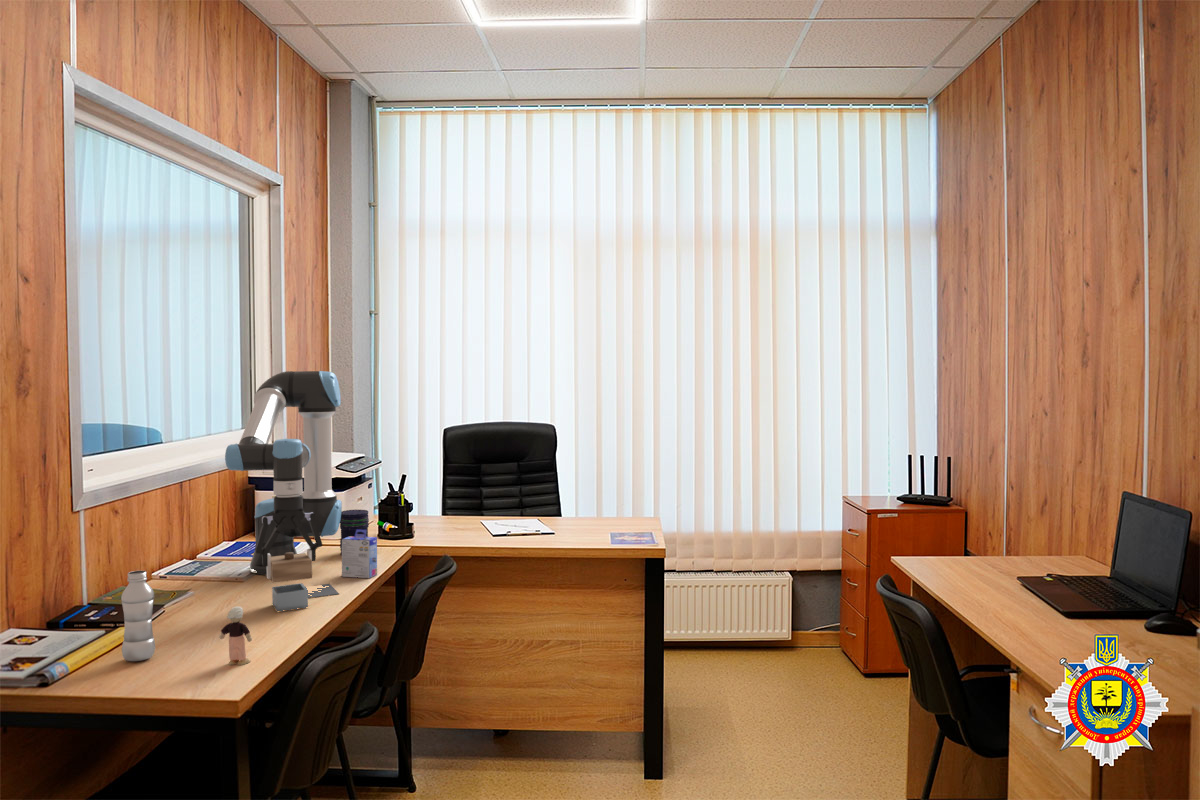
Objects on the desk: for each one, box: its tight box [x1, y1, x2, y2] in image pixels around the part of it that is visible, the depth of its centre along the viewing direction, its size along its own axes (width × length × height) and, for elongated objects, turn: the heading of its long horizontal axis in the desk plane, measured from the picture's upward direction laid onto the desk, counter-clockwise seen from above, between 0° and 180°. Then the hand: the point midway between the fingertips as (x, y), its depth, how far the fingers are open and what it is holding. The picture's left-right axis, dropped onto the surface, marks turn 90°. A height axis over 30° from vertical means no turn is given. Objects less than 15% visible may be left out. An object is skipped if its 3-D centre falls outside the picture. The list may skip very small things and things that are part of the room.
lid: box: [270, 552, 313, 584], centre depth 230 cm, size 10×10×6 cm
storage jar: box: [339, 509, 370, 556], centre depth 294 cm, size 10×10×15 cm
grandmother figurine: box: [218, 606, 253, 666], centre depth 186 cm, size 8×4×13 cm, turn 92°
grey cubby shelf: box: [271, 582, 309, 612], centre depth 230 cm, size 8×8×5 cm
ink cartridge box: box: [341, 529, 378, 579], centre depth 263 cm, size 10×6×14 cm, turn 78°
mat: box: [308, 582, 340, 599], centre depth 245 cm, size 13×13×1 cm
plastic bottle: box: [120, 570, 156, 662], centre depth 188 cm, size 6×7×20 cm
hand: (289, 575), depth 230 cm, fingers closed on lid, 10 cm apart
